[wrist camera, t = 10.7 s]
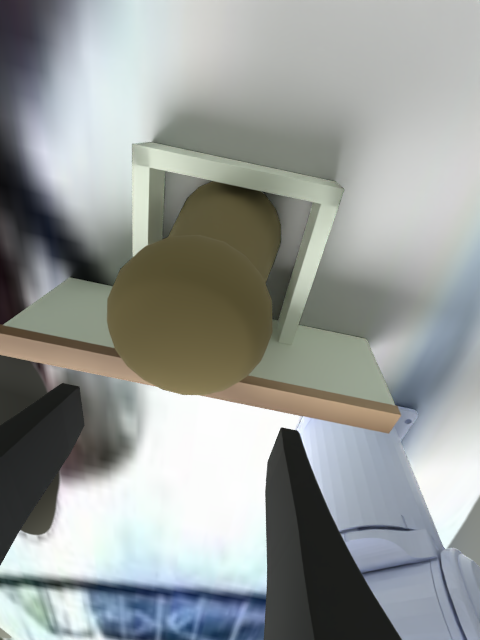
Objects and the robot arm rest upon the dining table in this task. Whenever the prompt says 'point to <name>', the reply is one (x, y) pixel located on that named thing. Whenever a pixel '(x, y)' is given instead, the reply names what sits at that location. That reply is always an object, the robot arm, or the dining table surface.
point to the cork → (200, 294)
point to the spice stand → (288, 336)
